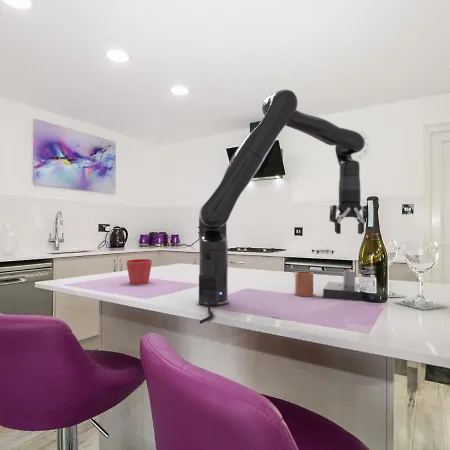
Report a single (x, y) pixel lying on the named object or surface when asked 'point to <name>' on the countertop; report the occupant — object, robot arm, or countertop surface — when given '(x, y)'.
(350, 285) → the stove knob
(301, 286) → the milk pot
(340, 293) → the stove
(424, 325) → the countertop surface
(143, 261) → the flower pot
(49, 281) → the countertop surface
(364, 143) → the robot arm
